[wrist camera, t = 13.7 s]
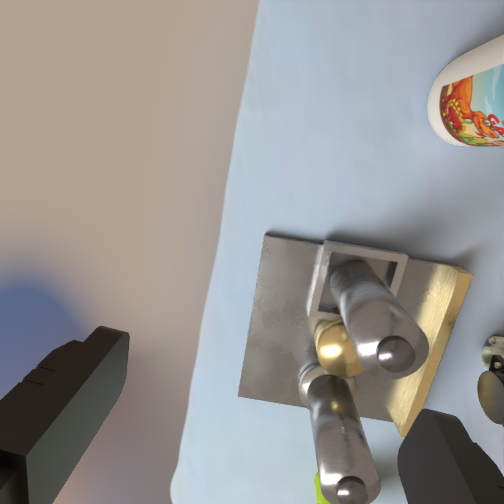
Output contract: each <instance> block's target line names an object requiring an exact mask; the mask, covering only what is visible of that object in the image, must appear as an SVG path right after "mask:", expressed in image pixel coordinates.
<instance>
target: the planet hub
mask: <svg viewBox="0 0 504 504" xmlns="http://www.w3.org/2000/svg"><path fill="white" fill-rule="evenodd" d="M330 290H331V292H332V295H333V297H334V300H335V302H336V305H337V307H338V310H339V312H340V314H341V317H342V319H343V322H344V324H345V327H346V329H347V332H348V334H349V337H350V339H351V342H352V344H353V347H354V349H355V351H356V354H357V356H358V359H359V361H360V364H361V365H362V367H363V368H364V369H365V370H366V371H367V372H368V373H369V374H371V375H373V376H375V377H377V378H381V379H386V380H394V379H401V378H404V377H407V376H409V375H411V374H413V373H414V372H416V371H417V370H418V369H419V368H420V367H421V366H422V365H423V364H424V362H425V361H426V359H427V356H428V353H429V342H428V339H427V336H426V334H425V333H424V332H423V330H422V329H421V328H420V327H419V325H418V324H417V323H416V322H415V321H414V319H413V318H412V317H411V316H410V314H409V313H408V312H407V311H406V310H405V308H404V307H403V306H402V305H401V304H400V302H399V301H398V300H397V299H396V297H395V296H394V295H393V294H392V293H391V291H390V290H389V289H388V288H387V286H386V285H385V284H384V283H383V282H382V280H381V279H380V278H379V277H378V275H377V274H376V273H375V272H374V271H373V269H372V268H371V267H370V266H368V265H367V264H365V263H362V262H357V261H352V262H347V263H345V264H342V265H341V266H339V267H338V268H337V269H336V270H335V271H334V272H333V274H332V276H331V279H330Z"/></svg>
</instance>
